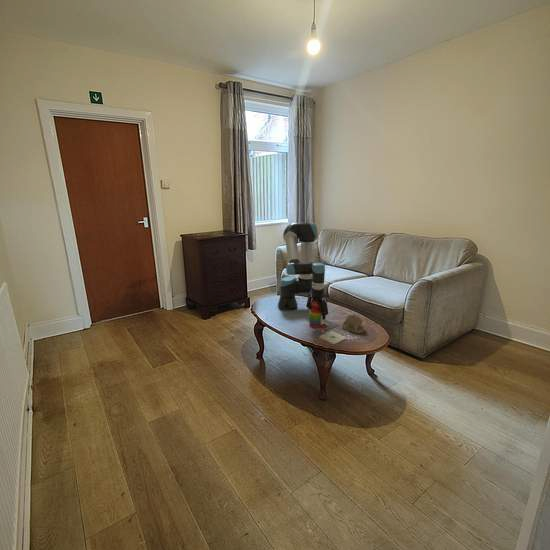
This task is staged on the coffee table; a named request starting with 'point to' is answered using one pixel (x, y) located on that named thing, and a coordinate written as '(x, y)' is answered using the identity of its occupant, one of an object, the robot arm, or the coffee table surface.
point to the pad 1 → (329, 325)
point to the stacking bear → (316, 317)
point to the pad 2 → (332, 337)
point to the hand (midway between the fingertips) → (316, 321)
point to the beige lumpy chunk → (353, 324)
